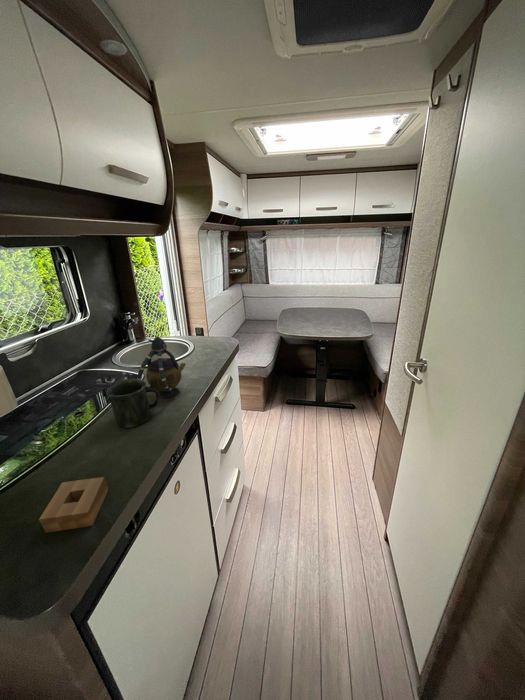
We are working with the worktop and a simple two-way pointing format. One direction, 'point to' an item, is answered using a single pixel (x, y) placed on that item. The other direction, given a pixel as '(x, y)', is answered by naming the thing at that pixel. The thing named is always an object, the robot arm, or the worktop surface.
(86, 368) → the worktop surface
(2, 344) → the robot arm
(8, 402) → the cup
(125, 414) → the mug
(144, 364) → the teapot
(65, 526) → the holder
